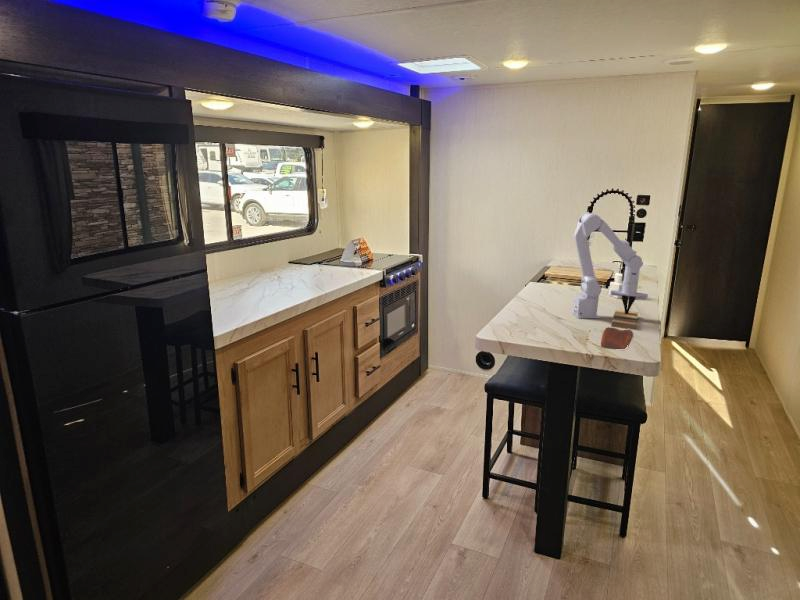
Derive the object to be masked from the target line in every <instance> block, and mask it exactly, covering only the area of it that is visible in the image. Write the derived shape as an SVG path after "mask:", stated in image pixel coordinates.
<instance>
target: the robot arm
mask: <svg viewBox="0 0 800 600" xmlns="http://www.w3.org/2000/svg"><path fill="white" fill-rule="evenodd" d="M595 231H597V232H600V233H602V234H603V235H604V237H605V238H606V239H607V240H608V241H609V242H610V243H611V244H612V245H613V247H612V248H613V251H614V252H615V254H617V256H618V257H619V258H620V259H621V260H622V261H623V264H624V265H625V268H624V272H623V273H624V280H623V288H622V291H616V290H611V294H610V295H612V296H613V295H615V296H622V298H621V301H622V304H623V308H624V311H625V314H628V313H629V311H630V310H631V307H632V306H633V304H634V303H635V301H636V299H644V300H648V297H649V296H648V295H649V293H642V292H638V285H639V277H640V269H641V268H642V267H643V265H644V262H643V258H642V257H641V256H639V255H637V251H636V250H634V249H633V248H632V247H631V246H630V245H631V244H630V242H629V241H626V240H621V239H620V238H619V237H618V236H617V235H616V233H615V232H614V230H612V228H611V227H610V226H609V225H608V223H607V222H606V221H605V220H603V219H602V218H601V216H599V215H598V214H593V213H591V212H586V213H583V214H582V215H581V216H580V217H579V219H578V220H577V226H576V228H575V231H574V233H573V239H574V243H575V248H576V253H577V257H578V261H579V262H578V263H579V267H580V273H581V277H580V279H581V283H580V290H581V291H582V292H581V293H580V295H576V296H575V297H574V300H573V308H572V309H573V310H572V311H571V312H572V313H571V314H572V315H574V316H575V317H576V318H578V319H601V316H600V315H598V306H599V297H600V294H601V293H602V287H601V284H599V283H598V278H597V277H596V275H595V271H594V265H593V260H592V256H591V251H590V247H589V242H588V238H589V236H590V235H592V233H593V232H595ZM612 296H611V297H612ZM628 297H629V298H628Z"/></svg>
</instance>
